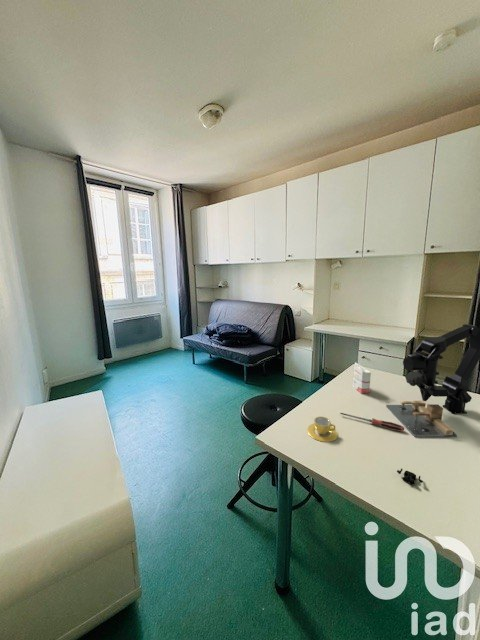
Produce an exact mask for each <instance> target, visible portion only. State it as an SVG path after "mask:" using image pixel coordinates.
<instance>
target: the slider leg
mask: <svg viewBox="0 0 480 640" xmlns="http://www.w3.org/2000/svg"><path fill="white" fill-rule="evenodd" d="M426 408H427V411H426V412H413V414H414V415H415V420H416V421H417V420H418V416H426V417H425V418H426V419H427V420H429V421H430V422H432V418H439V419H440V420H441V421H442V420H443V411H444V407H443V406H441V405H439V404H438V403H437V404H427V403H426Z"/></svg>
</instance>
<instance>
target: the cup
mask: <svg viewBox="0 0 480 640" xmlns="http://www.w3.org/2000/svg"><path fill="white" fill-rule="evenodd" d="M313 422H314V423H312V424H310V425H308V427H307V429H306V430H307V433H308V435H309V436H310V437H311V438H312V439H314V440H316V441H319V442H324V443H326V442H327V443H329V442H333V441H335V440H337V438H338V436H339V434H338V433H339V432H338V430H336V425H335V424H334V423H332V421H331V420H330V418H328V417H326V416H316V417H315V418H314V420H313ZM316 432H317V433H318V434H319V435H318V434H317V433H316ZM328 432H329V434H328V436H323V435H326V434H327V433H328ZM320 435H321V436H320Z"/></svg>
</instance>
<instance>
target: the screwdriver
mask: <svg viewBox="0 0 480 640" xmlns="http://www.w3.org/2000/svg"><path fill="white" fill-rule="evenodd" d="M339 414H340V415H343V416H347V417H350V418H354V419H359V420H361V421H362V420H363V421H366V422H369V423H371V425H375V426H376V425H377V426H379V427H381V428H386V429H388V430H392V431H398V432H404V431H405V426H404V425H401V424H398V423H396V422H392V421H385V420H382V419H381V420H379V419H376V418H372V419H369V418H364V417H360V416H355V415H352V414H349V413H345V412H340V413H339Z"/></svg>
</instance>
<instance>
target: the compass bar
mask: <svg viewBox="0 0 480 640" xmlns="http://www.w3.org/2000/svg"><path fill="white" fill-rule="evenodd" d="M399 404H400V405H402V408H403V409H404V405H413V406H412V407H413V408H414V409H417V410H419V411H420V412H426V411H427V403H426V401H423V400H409V401H408V400H407V401H406V400H402V401H400V402H399ZM425 417H426V416H425ZM432 423H433V424H434V425H435V426H436V427H438V428H439V429H440V430H441V431H442V432H443V433H444V434H445V435H452V434H453V432H454V430H453V429H452V428H451V427H450V426H449V425H447V424H446V423H445V422H443V421H442V420H440V419H439V418H432Z"/></svg>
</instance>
